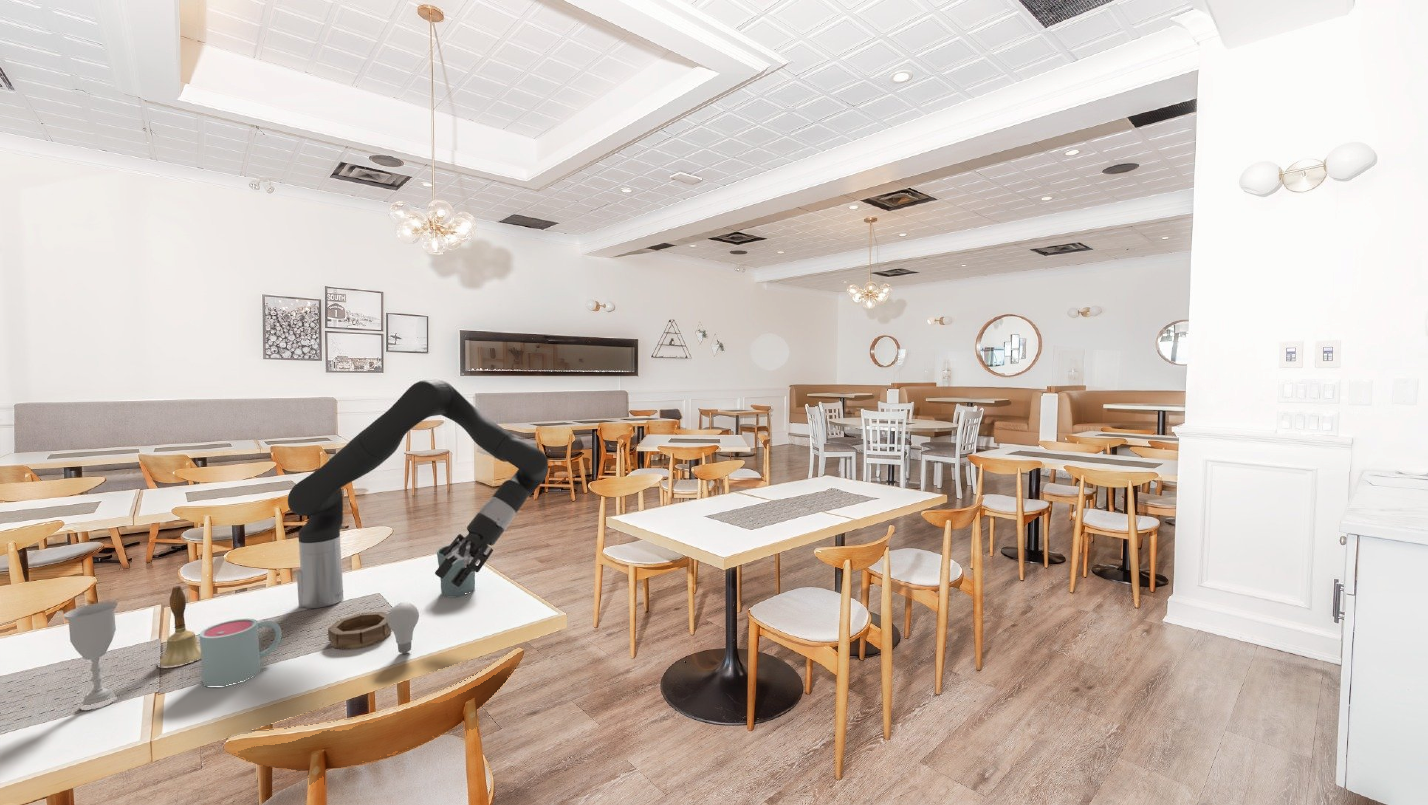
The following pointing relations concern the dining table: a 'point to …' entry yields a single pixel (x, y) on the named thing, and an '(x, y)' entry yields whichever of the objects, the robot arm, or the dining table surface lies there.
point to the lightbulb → (403, 624)
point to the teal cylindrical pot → (446, 584)
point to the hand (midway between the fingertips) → (446, 580)
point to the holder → (359, 630)
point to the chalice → (93, 641)
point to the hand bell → (180, 635)
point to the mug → (233, 650)
